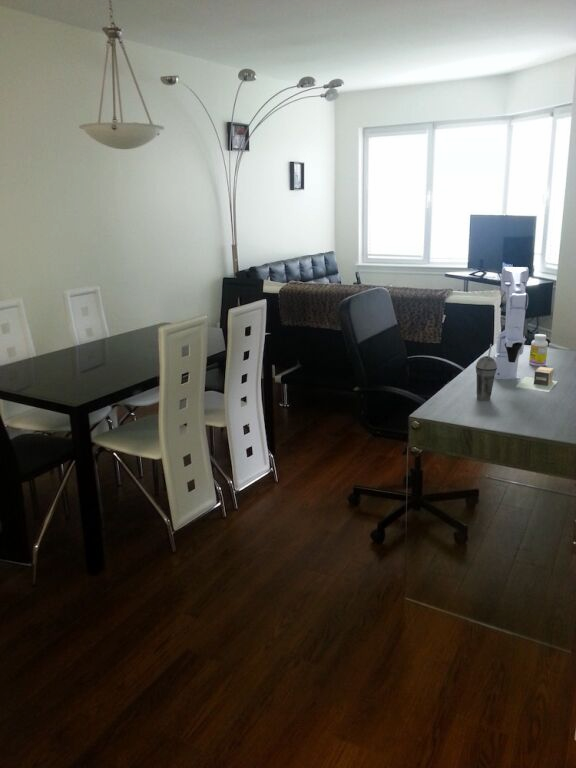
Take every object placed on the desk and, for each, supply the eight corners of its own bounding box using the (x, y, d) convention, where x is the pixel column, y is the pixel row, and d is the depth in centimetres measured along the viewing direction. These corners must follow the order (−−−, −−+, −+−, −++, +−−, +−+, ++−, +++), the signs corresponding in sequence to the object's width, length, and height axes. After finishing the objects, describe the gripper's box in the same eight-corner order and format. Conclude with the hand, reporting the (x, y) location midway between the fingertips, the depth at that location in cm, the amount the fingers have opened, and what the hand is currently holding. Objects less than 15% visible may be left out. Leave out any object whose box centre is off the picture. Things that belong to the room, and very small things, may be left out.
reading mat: (548, 392, 225) (548, 392, 225) (515, 387, 231) (515, 386, 231) (557, 381, 237) (557, 381, 237) (525, 377, 244) (525, 376, 244)
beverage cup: (468, 396, 221) (473, 342, 215) (485, 394, 224) (490, 341, 218) (481, 402, 215) (485, 347, 209) (498, 400, 217) (503, 345, 211)
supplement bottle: (526, 362, 265) (529, 333, 261) (542, 362, 265) (545, 333, 261) (532, 366, 259) (535, 336, 255) (547, 366, 259) (551, 336, 255)
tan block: (548, 373, 230) (553, 368, 237) (535, 371, 233) (539, 366, 239) (547, 386, 232) (551, 380, 238) (533, 383, 234) (538, 378, 241)
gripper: (521, 330, 217) (518, 367, 221) (531, 323, 228) (527, 359, 232) (501, 328, 221) (498, 365, 225) (512, 321, 232) (508, 356, 236)
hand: (511, 361), depth 229 cm, fingers closed
